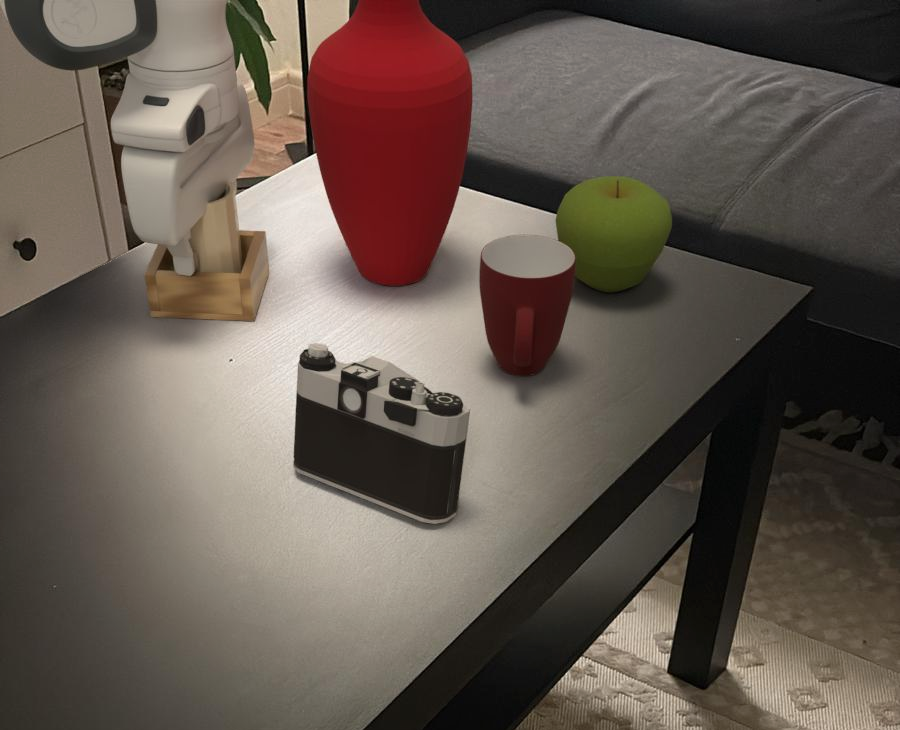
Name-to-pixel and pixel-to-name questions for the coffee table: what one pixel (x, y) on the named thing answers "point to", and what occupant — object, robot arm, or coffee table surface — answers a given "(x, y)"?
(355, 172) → the vase
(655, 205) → the apple
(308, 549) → the coffee table surface
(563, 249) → the mug
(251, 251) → the open wooden box
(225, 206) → the beige cup
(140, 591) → the coffee table surface
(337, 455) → the camera
